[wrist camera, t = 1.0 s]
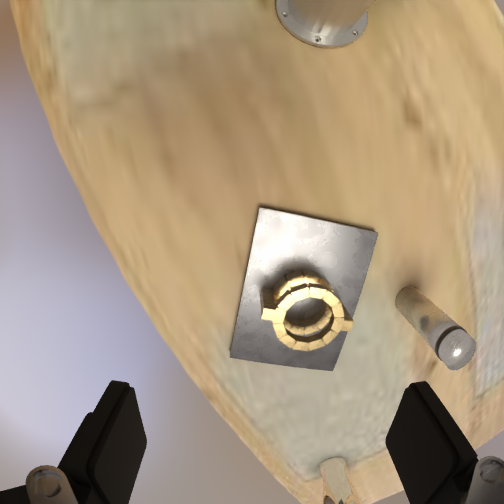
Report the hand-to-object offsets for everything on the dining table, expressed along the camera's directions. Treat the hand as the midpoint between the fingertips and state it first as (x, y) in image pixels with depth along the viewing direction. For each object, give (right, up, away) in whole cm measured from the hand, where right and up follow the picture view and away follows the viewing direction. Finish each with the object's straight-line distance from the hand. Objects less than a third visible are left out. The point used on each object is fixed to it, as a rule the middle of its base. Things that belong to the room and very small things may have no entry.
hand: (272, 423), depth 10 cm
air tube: (+23, -2, +35) cm, 42 cm away
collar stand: (+6, 0, +34) cm, 35 cm away
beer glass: (+16, -40, +46) cm, 63 cm away
